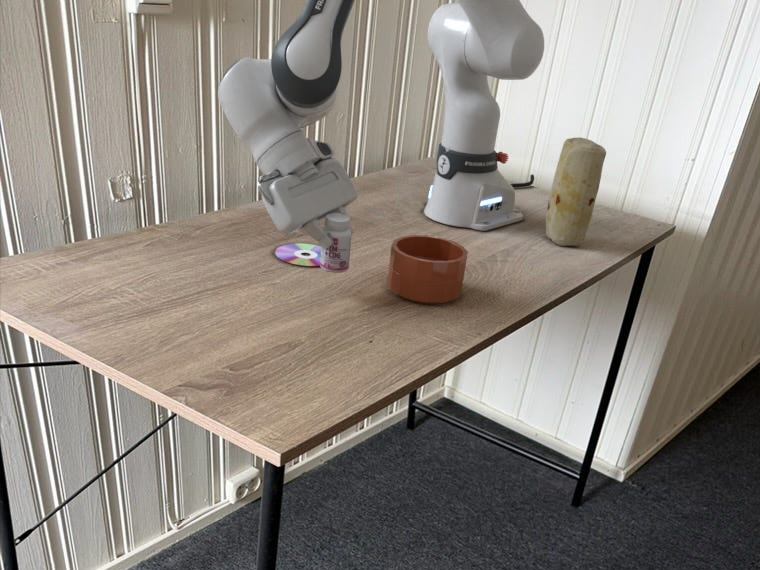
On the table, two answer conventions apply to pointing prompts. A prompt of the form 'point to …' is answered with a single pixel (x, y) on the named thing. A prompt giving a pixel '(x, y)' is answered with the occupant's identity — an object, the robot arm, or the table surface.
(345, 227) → the pill bottle
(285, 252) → the cd
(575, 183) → the food model
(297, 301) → the table surface
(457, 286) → the pot
